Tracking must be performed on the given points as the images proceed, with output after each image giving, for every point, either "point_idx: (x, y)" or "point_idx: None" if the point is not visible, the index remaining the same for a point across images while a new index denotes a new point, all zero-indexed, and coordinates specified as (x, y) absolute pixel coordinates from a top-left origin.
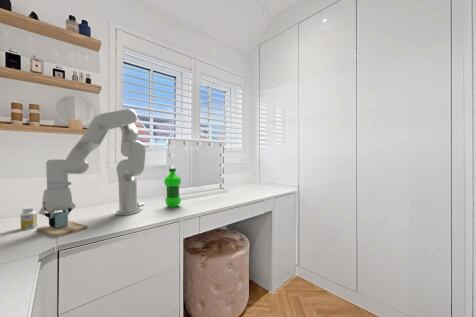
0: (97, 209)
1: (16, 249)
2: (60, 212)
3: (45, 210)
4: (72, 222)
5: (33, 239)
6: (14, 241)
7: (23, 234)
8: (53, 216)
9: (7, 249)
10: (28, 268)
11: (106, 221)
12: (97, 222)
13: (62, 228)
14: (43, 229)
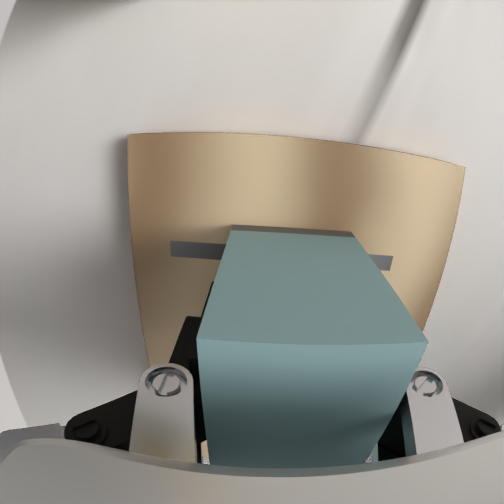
0: None
1: (37, 402)
2: (367, 417)
3: (64, 453)
4: (423, 303)
5: (82, 360)
6: (9, 284)
7: (49, 150)
8: (201, 448)
9: (10, 370)
10: None
11: (480, 407)
12: (469, 388)
13: None
14: (149, 275)
